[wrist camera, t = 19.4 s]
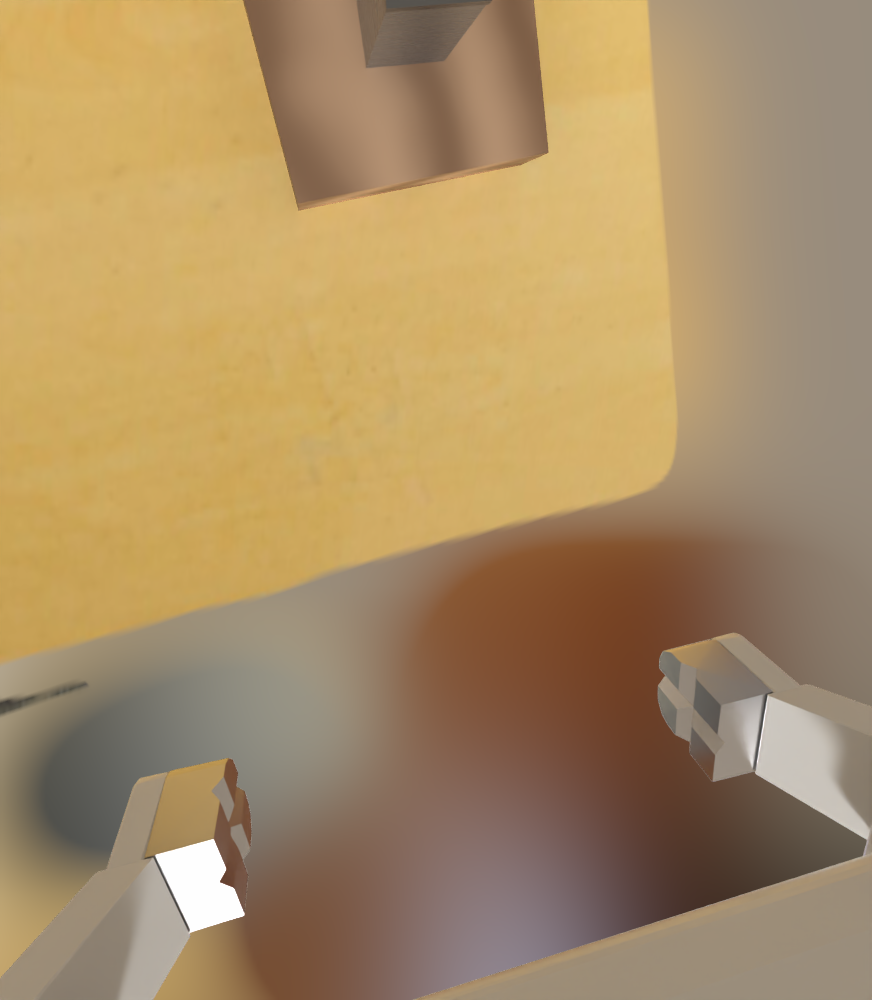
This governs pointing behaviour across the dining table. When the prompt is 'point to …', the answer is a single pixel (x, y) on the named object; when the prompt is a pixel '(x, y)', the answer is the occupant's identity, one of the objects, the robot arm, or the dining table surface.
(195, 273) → the dining table surface
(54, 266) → the dining table surface
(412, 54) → the grey tin
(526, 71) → the walnut block
